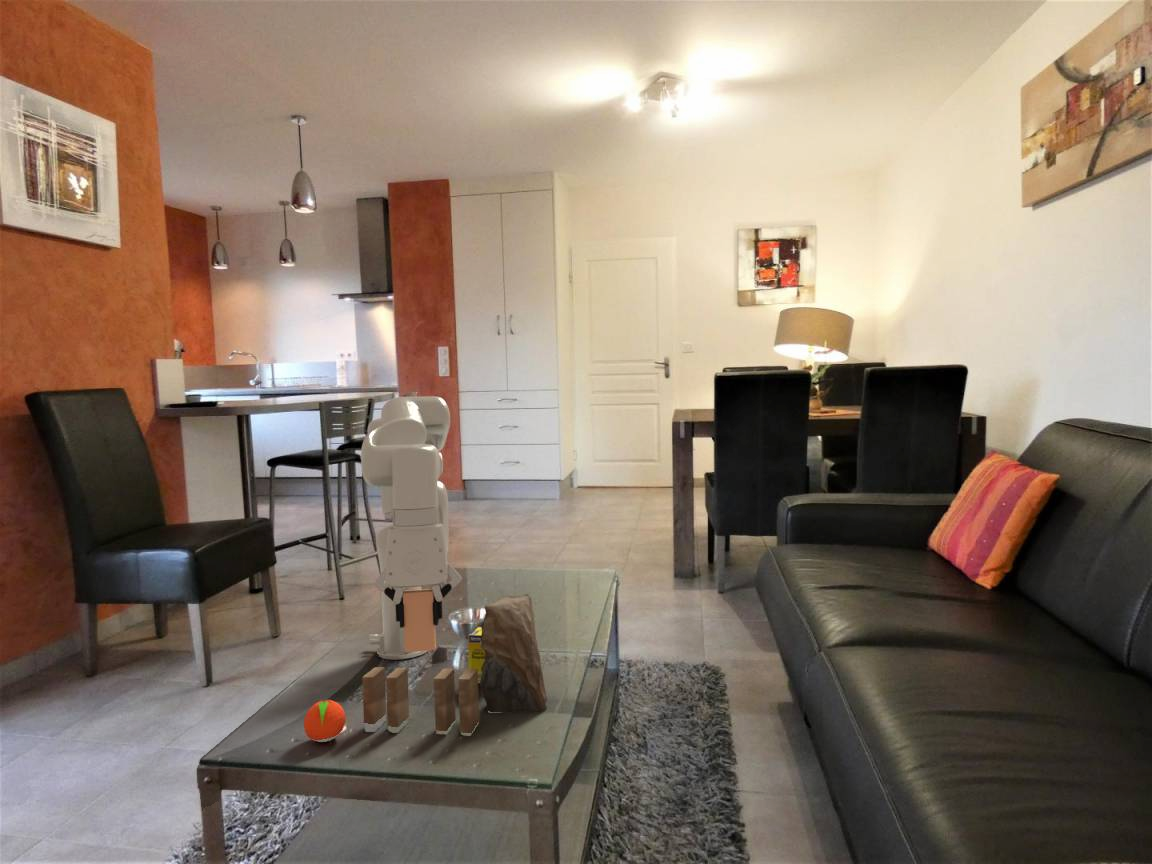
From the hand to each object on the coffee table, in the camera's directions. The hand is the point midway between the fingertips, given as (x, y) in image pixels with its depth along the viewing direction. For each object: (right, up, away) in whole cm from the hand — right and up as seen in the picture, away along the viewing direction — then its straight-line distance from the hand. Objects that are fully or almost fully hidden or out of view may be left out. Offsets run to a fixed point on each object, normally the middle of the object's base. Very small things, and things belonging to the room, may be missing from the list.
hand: (419, 623), depth 113 cm
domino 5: (+8, -21, +6) cm, 23 cm away
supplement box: (+8, -21, +29) cm, 36 cm away
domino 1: (-10, -22, +9) cm, 25 cm away
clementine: (-17, -22, +3) cm, 28 cm away
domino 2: (-6, -21, +8) cm, 23 cm away
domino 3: (0, -5, 0) cm, 5 cm away
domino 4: (+3, -21, +7) cm, 22 cm away
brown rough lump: (+15, -21, +17) cm, 31 cm away
